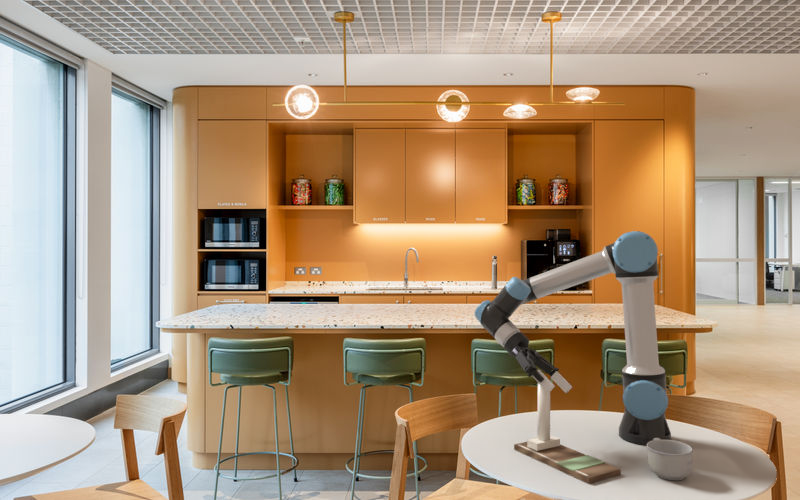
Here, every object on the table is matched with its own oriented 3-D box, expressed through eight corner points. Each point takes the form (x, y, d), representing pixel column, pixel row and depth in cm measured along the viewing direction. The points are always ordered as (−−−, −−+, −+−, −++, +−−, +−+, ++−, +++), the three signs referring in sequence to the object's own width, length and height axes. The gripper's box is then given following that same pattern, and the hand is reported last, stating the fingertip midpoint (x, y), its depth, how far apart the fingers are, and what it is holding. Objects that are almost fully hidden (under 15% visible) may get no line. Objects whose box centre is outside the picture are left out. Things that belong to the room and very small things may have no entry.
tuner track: (514, 449, 165) (514, 443, 165) (544, 442, 171) (544, 437, 171) (588, 483, 141) (588, 477, 141) (620, 474, 147) (620, 468, 147)
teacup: (698, 486, 140) (698, 454, 140) (651, 482, 142) (651, 451, 142) (681, 465, 154) (681, 436, 154) (639, 462, 156) (639, 433, 156)
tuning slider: (527, 446, 162) (527, 384, 162) (550, 441, 167) (550, 381, 167) (537, 450, 159) (537, 387, 159) (560, 445, 163) (560, 384, 163)
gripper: (521, 351, 186) (567, 398, 174) (485, 345, 167) (534, 399, 155) (536, 334, 185) (583, 381, 172) (501, 327, 165) (552, 379, 153)
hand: (560, 389), depth 163 cm, fingers open, 13 cm apart
